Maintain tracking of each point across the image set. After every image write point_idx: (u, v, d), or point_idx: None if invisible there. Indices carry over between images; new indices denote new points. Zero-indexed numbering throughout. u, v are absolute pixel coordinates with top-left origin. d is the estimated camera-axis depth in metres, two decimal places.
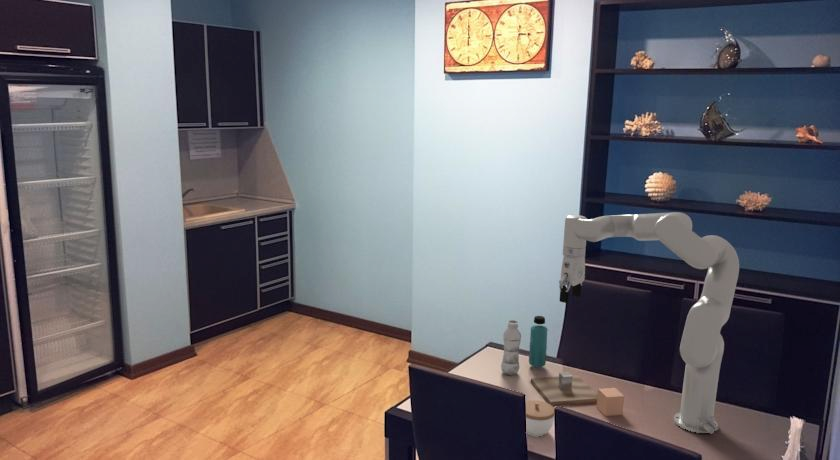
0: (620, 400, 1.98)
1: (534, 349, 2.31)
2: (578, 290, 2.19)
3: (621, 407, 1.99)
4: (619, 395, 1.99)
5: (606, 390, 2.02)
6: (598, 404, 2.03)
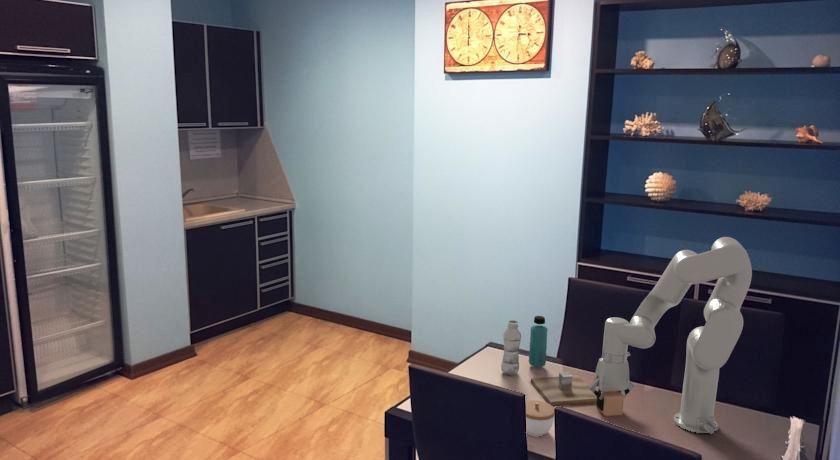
0: (620, 400, 1.98)
1: (534, 349, 2.31)
2: None
3: (621, 407, 1.99)
4: (619, 395, 1.99)
5: None
6: None
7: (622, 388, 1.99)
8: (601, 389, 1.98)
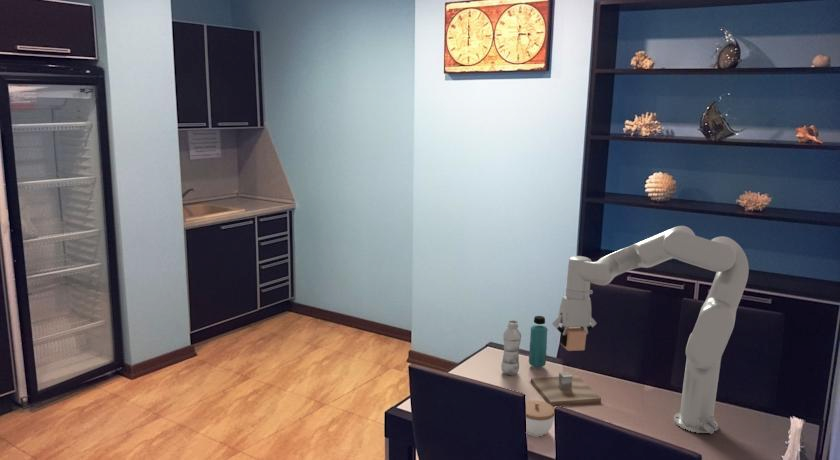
0: (582, 336, 2.06)
1: (534, 349, 2.31)
2: None
3: (583, 343, 2.07)
4: (582, 331, 2.07)
5: (570, 327, 2.10)
6: None
7: (584, 324, 2.07)
8: (564, 325, 2.05)
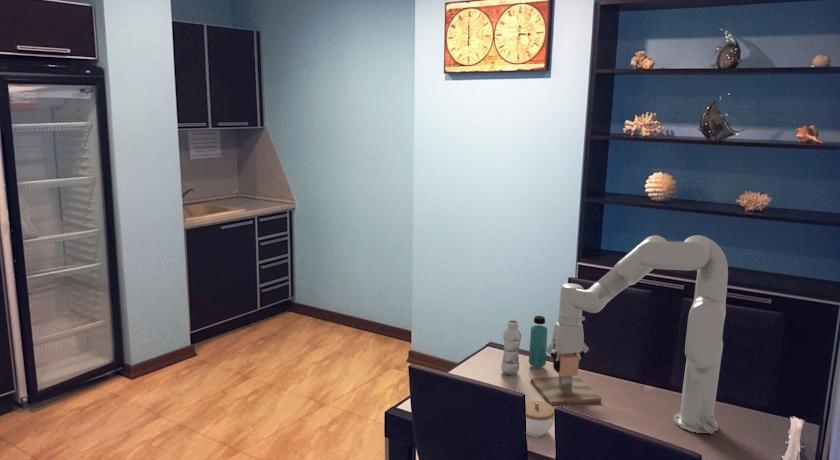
0: (575, 361, 2.10)
1: (534, 349, 2.31)
2: None
3: (576, 368, 2.10)
4: (574, 357, 2.10)
5: (562, 353, 2.13)
6: None
7: (577, 350, 2.10)
8: (557, 351, 2.09)
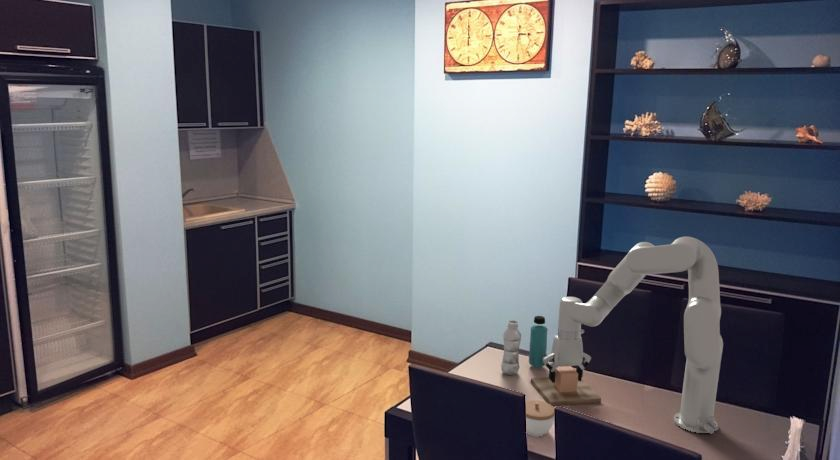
0: (574, 377, 2.11)
1: (534, 349, 2.31)
2: None
3: (575, 384, 2.12)
4: (573, 373, 2.11)
5: (562, 368, 2.14)
6: (555, 381, 2.15)
7: (576, 363, 2.11)
8: (556, 364, 2.10)
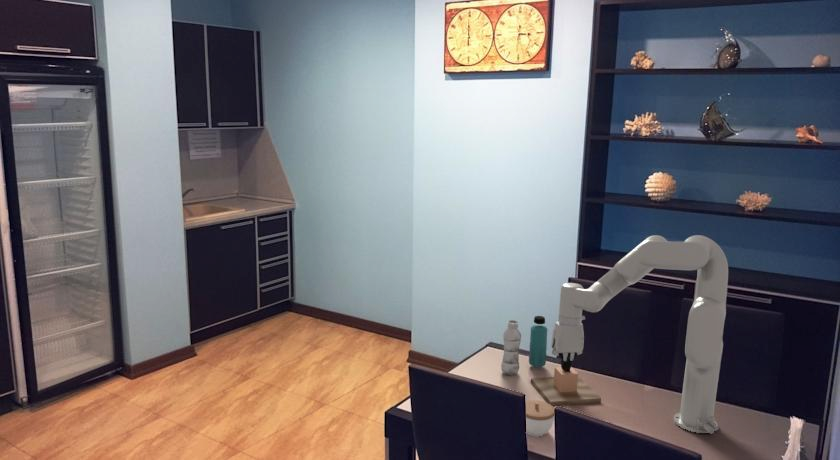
0: (574, 377, 2.11)
1: (534, 349, 2.31)
2: None
3: (575, 384, 2.12)
4: (573, 373, 2.11)
5: None
6: (555, 381, 2.15)
7: (577, 350, 2.10)
8: (557, 350, 2.09)
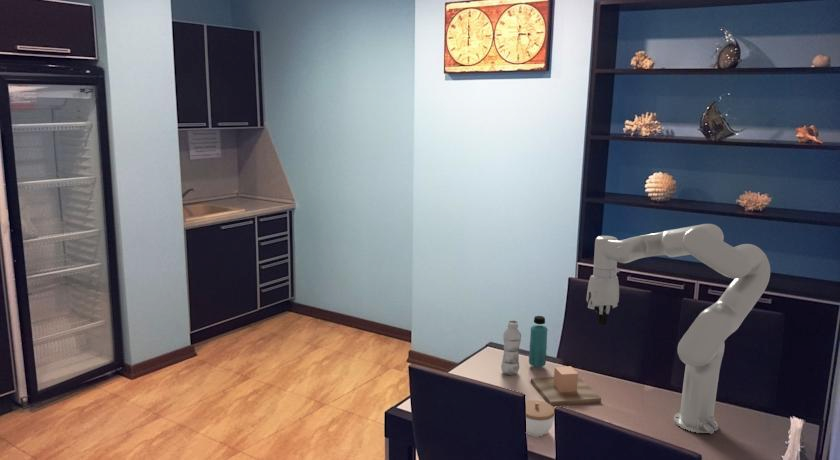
0: (574, 377, 2.11)
1: (534, 349, 2.31)
2: None
3: (575, 384, 2.12)
4: (573, 373, 2.11)
5: (562, 368, 2.14)
6: (555, 381, 2.15)
7: (613, 302, 2.10)
8: (593, 303, 2.09)
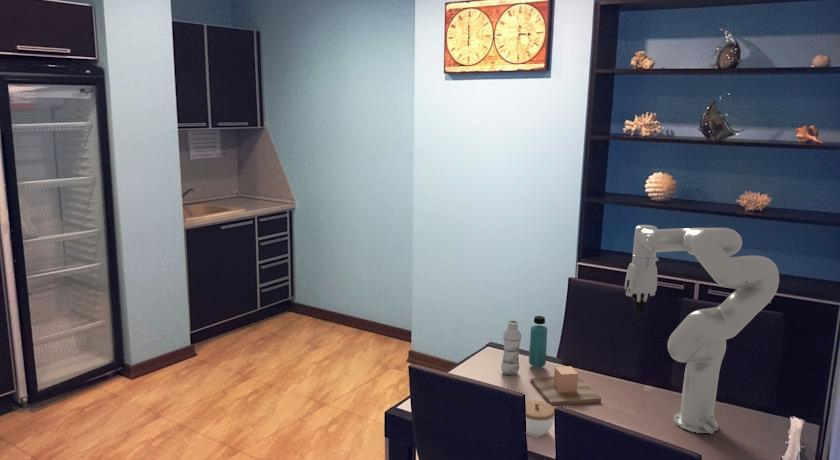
0: (574, 377, 2.11)
1: (534, 349, 2.31)
2: None
3: (575, 384, 2.12)
4: (573, 373, 2.11)
5: (562, 368, 2.14)
6: (555, 381, 2.15)
7: (651, 290, 2.14)
8: (631, 291, 2.13)
